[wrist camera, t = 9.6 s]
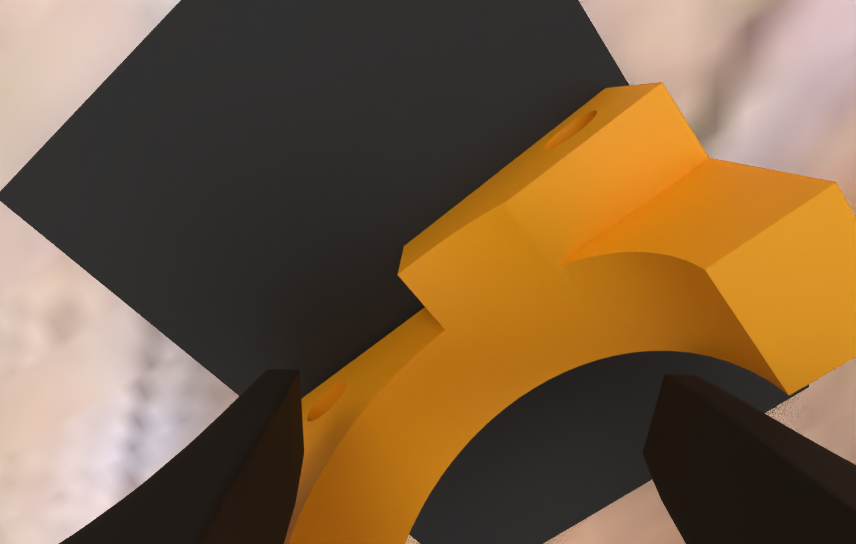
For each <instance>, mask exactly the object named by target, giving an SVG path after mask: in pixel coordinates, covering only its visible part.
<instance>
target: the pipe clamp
mask: <svg viewBox="0 0 856 544" xmlns="http://www.w3.org/2000/svg"><path fill="white" fill-rule="evenodd" d="M398 276H399V277H400V278H401V279H402V281H403V282H404V283H405V284H406V285H407V286H408V288H409V289H410V290H411V291H412V292H413V293H414V294H415V296H416V297H417V298H418V299H419V300H420V301H421V302H422V304H423V305H424V306H425V307H424V308H423V309H422V310H420V311H419V312H418V313H416V314H415V315H414V316H412V317H411V318H410V319H408V320H407V321H406V322H404V323H403V324H402V325H400V326H399V327H398V328H396V329H395V330H394V331H392V332H391V333H389V334H388V335H387V336H385V337H384V338H383V339H381V340H380V341H379V342H377V343H376V344H375V345H373V346H372V347H371V348H369V349H368V350H367V351H365V352H364V353H363V354H361V355H360V356H358V357H357V358H356V359H354V360H353V361H352V362H350V363H349V364H348V365H346V366H345V367H344V368H342V369H341V370H340V371H338V372H337V373H336V374H334V375H333V376H332V377H330V378H329V379H328V380H326V381H325V382H323V383H322V384H321V385H319V386H318V387H317V388H315V389H314V390H313V391H311V392H310V393H309V394H307V395H306V396H305V397H303V398H302V399H301V402H302V420H303V438H304V457H303V463H302V469H301V475H300V481H299V487H298V492H297V498H296V503H295V507H294V510H293V514H292V517H291V521H290V524H289V528H288V531H287V535H286V538H285V541H284V544H405V543H406V540H407V538H408V536H409V533H410V531H411V529H412V526H413V524H414V522H415V520H416V518H417V516H418V514H419V512H420V510H421V508H422V507H423V505H424V503H425V501H426V500H427V498H428V496H429V495H430V493H431V491H432V490H433V488H434V487H435V485H436V484H437V482H438V480H439V479H440V477H441V476H442V475H443V473H444V472H445V471H446V469H447V468H448V466H449V465H450V464H451V462H452V461H453V460H454V459H455V457H456V456H457V455H458V454H459V453H460V451H461V450H462V449H463V448H464V447H465V446H466V445H467V443H468V442H469V441H470V440H471V439H472V438H473V437H474V436H475V435H476V434H477V433H478V432H479V431H480V430H481V429H482V428H483V427H484V426H485V425H486V424H487V423H488V422H489V421H491V420H492V419H493V418H494V417H495V416H496V415H498V414H499V413H500V412H501V411H502V410H504V409H505V408H506V407H508V406H509V405H510V404H512V403H513V402H514V401H516V400H517V399H518V398H520V397H521V396H523V395H524V394H526V393H527V392H529V391H530V390H532V389H533V388H535V387H537V386H539V385H540V384H542V383H544V382H546V381H547V380H549V379H551V378H553V377H555V376H558V375H560V374H562V373H564V372H566V371H568V370H571V369H573V368H576V367H578V366H581V365H584V364H587V363H590V362H593V361H596V360H599V359H603V358H607V357H611V356H616V355H621V354H627V353H633V352H644V351H678V352H690V353H695V354H701V355H706V356H711V357H714V358H717V359H721V360H724V361H728V362H731V363H733V364H735V365H738V366H740V367H743V368H745V369H748V370H750V371H752V372H753V373H755V374H757V375H759V376H761V377H762V378H764V379H766V380H768V381H770V382H771V383H772V384H774V385H775V386H776V387H778V388H779V389H781V390H782V391H783V392H785V393H786V394H788V395H791V394H793V393H794V392H796V391H798V390H799V389H801V388H803V387H805V386H806V385H808V384H810V383H812V382H813V381H815V380H817V379H818V378H820V377H822V376H824V375H825V374H827V373H829V372H830V371H832V370H834V369H836V368H837V367H839V366H841V365H842V364H844V363H846V362H848V361H849V360H851V359H853V358H855V357H856V217H855V215H854V213H853V211H852V210H851V208H850V206H849V204H848V202H847V201H846V199H845V197H844V195H843V193H842V192H841V190H840V188H839V186H838V184H837V183H836V182H832V181H827V180H822V179H817V178H811V177H806V176H801V175H796V174H791V173H785V172H780V171H775V170H770V169H765V168H759V167H754V166H749V165H744V164H739V163H733V162H728V161H723V160H718V159H713V158H709V157H708V155H707V154H706V152H705V150H704V149H703V147H702V146H701V144H700V142H699V141H698V139H697V137H696V136H695V134H694V133H693V131H692V129H691V128H690V126H689V125H688V123H687V121H686V120H685V118H684V117H683V115H682V113H681V112H680V110H679V108H678V107H677V105H676V104H675V102H674V100H673V99H672V97H671V96H670V94H669V92H668V91H667V89H666V88H665V86H664V84H663V83H662V82H660V83H650V84H640V85H630V86H620V87H610V88H605V89H604V90H602V91H601V92H600V93H599V94H597V95H596V96H595V97H594V98H592V99H591V100H590V101H588V102H587V103H586V104H585V105H583V106H582V107H581V108H580V109H578V110H577V111H576V112H574V113H573V114H572V115H571V116H569V117H568V118H567V119H566V120H564V121H563V122H562V123H560V124H559V125H558V126H557V127H555V128H554V129H553V130H551V131H550V132H549V133H548V134H546V135H545V136H544V137H543V138H541V139H540V140H539V141H537V142H536V143H535V144H534V145H532V146H531V147H530V148H529V149H527V150H526V151H525V152H523V153H522V154H521V155H520V156H518V157H517V158H516V159H515V160H513V161H512V162H511V163H509V164H508V165H507V166H506V167H504V168H503V169H502V170H500V171H499V172H498V173H497V174H495V175H494V176H493V177H492V178H490V179H489V180H488V181H486V182H485V183H484V184H483V185H481V186H480V187H479V188H478V189H476V190H475V191H474V192H472V193H471V194H470V195H469V196H467V197H466V198H465V199H463V200H462V201H461V202H460V203H458V204H457V205H456V206H455V207H453V208H452V209H451V210H449V211H448V212H447V213H446V214H444V215H443V216H442V217H441V218H439V219H438V220H437V221H435V222H434V223H433V224H432V225H430V226H429V227H428V228H427V229H425V230H424V231H423V232H421V233H420V234H419V235H418V236H416V237H415V238H414V239H412V240H411V241H410V242H409V243H407V244H406V245H405V246H404V248H403V252H402V257H401V261H400V266H399V270H398Z"/></svg>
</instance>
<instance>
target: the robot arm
mask: <svg viewBox="0 0 856 544" xmlns="http://www.w3.org/2000/svg"><path fill="white" fill-rule="evenodd" d="M642 454H643V456H644V459H645V461H646V464H647V467H648V469H649V472H650V474H651V477H652V479H653V481H654V484H655V486H656V488H657V491H658V493H659V495H660V497H661V500H662V502H663V504H664V505H665V507H666V509H667V511H668V513H669V514H670V516H671V518H672V520H673V521H674V523H675V525H676V527H677V528H678V530H679V532H680V534H681V535H682V537H683V539H684V541H685V542H686V544H856V465H855V464H853V463H851V462H849V461H847V460H845V459H844V458H842V457H840V456H838V455H836V454H834V453H833V452H831V451H829V450H827V449H825V448H824V447H822V446H820V445H818V444H816V443H815V442H813V441H811V440H809V439H808V438H806V437H804V436H802V435H801V434H799V433H797V432H795V431H794V430H792V429H790V428H788V427H787V426H785V425H783V424H782V423H780V422H778V421H776V420H775V419H773V418H771V417H769V416H768V415H766V414H764V413H763V412H761V411H759V410H757V409H756V408H754V407H752V406H751V405H749V404H747V403H745V402H744V401H742V400H740V399H738V398H737V397H735V396H733V395H731V394H730V393H728V392H726V391H724V390H722V389H721V388H719V387H717V386H715V385H713V384H711V383H709V382H707V381H705V380H703V379H701V378H699V377H697V376H695V375H664V378H663V382H662V385H661V389H660V392H659V396H658V400H657V403H656V407H655V410H654V414H653V417H652V421H651V424H650V428H649V432H648V435H647V439H646V442H645V446H644V449H643V453H642ZM303 457H304V438H303V420H302V402H301V384H300V369H267V370H266V371H265V372H264V373H263V374H262V375H261V376H260V377H258V378H257V379H256V380H255V381H254V382H253V383H252V384H251V385H250V386H249V387H248V388H247V389H246V390H245V391H244V392H243V393H242V394H241V395H240V396H239V397H238V398H237V399H236V400H235V401H234V402H233V403H232V404H231V405H230V406H229V407H228V408H227V409H226V410H225V411H224V412H223V413H222V414H221V415H220V416H219V417H218V418H217V419H216V420H215V421H214V422H212V423H211V424H210V425H209V426H208V427H207V428H206V429H205V430H204V431H203V432H202V433H201V434H200V435H199V436H198V437H196V438H195V439H194V440H193V441H192V442H191V443H190V444H189V445H188V446H187V447H185V448H184V449H183V450H182V451H181V452H180V453H178V454H177V455H176V456H175V457H174V458H173V459H171V460H170V461H169V462H168V463H167V464H165V465H164V466H163V467H162V468H161V469H160V470H158V471H157V472H156V473H155V474H154V475H153V476H151V477H150V478H149V479H148V480H147V481H145V482H144V483H143V484H142V485H140V486H139V487H138V488H137V489H135V490H134V491H133V492H131V493H130V494H129V495H127V496H126V497H125V498H124V499H122V500H121V501H119V502H118V503H117V504H115V505H114V506H113V507H111V508H110V509H108V510H107V511H106V512H104V513H103V514H102V515H100V516H99V517H97V518H96V519H95V520H93V521H92V522H91V523H89V524H88V525H86V526H85V527H83V528H82V529H80V530H79V531H78V532H76V533H75V534H73V535H72V536H70V537H69V538H67V539H65V540H64V541H62V542H61V543H59V544H284V541H285V538H286V535H287V531H288V528H289V524H290V521H291V517H292V514H293V510H294V507H295V503H296V498H297V492H298V487H299V481H300V475H301V469H302V463H303Z"/></svg>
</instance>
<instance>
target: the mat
mask: <svg viewBox="0 0 856 544" xmlns="http://www.w3.org/2000/svg"><path fill="white" fill-rule="evenodd" d="M620 86H629V84H628V82H627V81H626V79H625V77H624V76H623V74H622V72H621V71H620V69H619V67H618V66H617V64H616V62H615V61H614V59H613V57H612V56H611V54H610V52H609V51H608V49H607V47H606V46H605V44H604V42H603V41H602V39H601V37H600V36H599V34H598V32H597V31H596V29H595V27H594V26H593V24H592V22H591V21H590V19H589V17H588V16H587V14H586V12H585V11H584V9H583V7H582V6H581V4H580V2H579V1H578V0H181V1H180V2H179V3H178V4H177V5H176V6H175V7H174V8H173V9H172V10H171V11H170V12H169V13H168V14H167V16H166V17H165V18H164V19H163V20H162V21H161V22H160V23H159V24H158V25H157V26H156V27H155V28H154V29H153V30H152V31H151V32H150V34H149V35H148V36H147V37H146V38H145V39H144V40H143V41H142V42H141V43H140V44H139V45H138V46H137V47H136V48H135V49H134V50H133V52H132V53H131V54H130V55H129V56H128V57H127V58H126V59H125V60H124V61H123V62H122V63H121V64H120V65H119V66H118V67H117V68H116V70H115V71H114V72H113V73H112V74H111V75H110V76H109V77H108V78H107V79H106V80H105V81H104V82H103V83H102V84H101V85H100V86H99V88H98V89H97V90H96V91H95V92H94V93H93V94H92V95H91V96H90V97H89V98H88V99H87V100H86V101H85V102H84V103H83V104H82V106H81V107H80V108H79V109H78V110H77V111H76V112H75V113H74V114H73V115H72V116H71V117H70V118H69V119H68V120H67V121H66V122H65V123H64V125H63V126H62V127H61V128H60V129H59V130H58V131H57V132H56V133H55V134H54V135H53V136H52V137H51V138H50V139H49V140H48V141H47V143H46V144H45V145H44V146H43V147H42V148H41V149H40V150H39V151H38V152H37V153H36V154H35V155H34V156H33V157H32V158H31V159H30V161H29V162H28V163H27V164H26V165H25V166H24V167H23V168H22V169H21V170H20V171H19V172H18V173H17V174H16V175H15V176H14V177H13V179H12V180H11V181H10V182H9V183H8V184H7V185H6V186H5V187H4V188H3V189H2V190H1V191H0V201H1V202H2V203H4V204H5V205H6V206H7V207H8V208H10V209H11V210H12V211H13V212H15V213H16V214H17V215H18V216H20V217H21V218H22V219H23V220H24V221H26V222H27V223H28V224H29V225H31V226H32V227H33V228H34V229H35V230H37V231H38V232H39V233H40V234H42V235H43V236H44V237H45V238H46V239H48V240H49V241H50V242H51V243H53V244H54V245H55V246H56V247H58V248H59V249H60V250H61V251H62V252H64V253H65V254H66V255H67V256H69V257H70V258H71V259H72V260H73V261H75V262H76V263H77V264H78V265H80V266H81V267H82V268H83V269H85V270H86V271H87V272H88V273H89V274H91V275H92V276H93V277H94V278H96V279H97V280H98V281H99V282H100V283H102V284H103V285H104V286H105V287H107V288H108V289H109V290H110V291H111V292H113V293H114V294H115V295H116V296H118V297H119V298H120V299H121V300H123V301H124V302H125V303H126V304H127V305H129V306H130V307H131V308H132V309H134V310H135V311H136V312H137V313H138V314H140V315H141V316H142V317H143V318H145V319H146V320H147V321H148V322H150V323H151V324H152V325H153V326H154V327H156V328H157V329H158V330H159V331H161V332H162V333H163V334H164V335H165V336H167V337H168V338H169V339H170V340H172V341H173V342H174V343H175V344H176V345H178V346H179V347H180V348H181V349H183V350H184V351H185V352H186V353H188V354H189V355H190V356H191V357H192V358H194V359H195V360H196V361H197V362H199V363H200V364H201V365H202V366H203V367H205V368H206V369H207V370H208V371H210V372H211V373H212V374H213V375H215V376H216V377H217V378H218V379H219V380H221V381H222V382H223V383H224V384H226V385H227V386H228V387H229V388H230V389H232V390H233V391H234V392H235V393H237V394H238V395H239V396H240V395H241V394H242V393H243V392H244V391H245V390H246V389H247V388H248V387H249V386H250V385H251V384H252V383H253V382H254V381H255V380H256V379H257V378H258V377H260V376H261V375H262V374H263V373H264V372H265V371H266V370H267V369H300V384H301V399H302V398H303V397H305V396H306V395H307V394H309V393H310V392H311V391H313V390H314V389H315V388H317V387H318V386H319V385H321V384H322V383H323V382H325V381H326V380H328V379H329V378H330V377H332V376H333V375H334V374H336V373H337V372H338V371H340V370H341V369H342V368H344V367H345V366H346V365H348V364H349V363H350V362H352V361H353V360H354V359H356V358H357V357H358V356H360V355H361V354H363V353H364V352H365V351H367V350H368V349H369V348H371V347H372V346H373V345H375V344H376V343H377V342H379V341H380V340H381V339H383V338H384V337H385V336H387V335H388V334H389V333H391V332H392V331H394V330H395V329H396V328H398V327H399V326H400V325H402V324H403V323H404V322H406V321H407V320H408V319H410V318H411V317H412V316H414V315H415V314H416V313H418V312H419V311H420V310H422V309H423V308H424V307H425V306H424V305H423V304H422V302H421V301H420V300H419V299H418V298H417V297H416V296H415V294H414V293H413V292H412V291H411V290H410V289H409V288H408V286H407V285H406V284H405V283H404V282H403V281H402V279H401V278H400V277H399V276H398V270H399V266H400V261H401V257H402V252H403V248H404V246H405V245H406V244H407V243H409V242H410V241H411V240H412V239H414V238H415V237H416V236H418V235H419V234H420V233H421V232H423V231H424V230H425V229H427V228H428V227H429V226H430V225H432V224H433V223H434V222H435V221H437V220H438V219H439V218H441V217H442V216H443V215H444V214H446V213H447V212H448V211H449V210H451V209H452V208H453V207H455V206H456V205H457V204H458V203H460V202H461V201H462V200H463V199H465V198H466V197H467V196H469V195H470V194H471V193H472V192H474V191H475V190H476V189H478V188H479V187H480V186H481V185H483V184H484V183H485V182H486V181H488V180H489V179H490V178H492V177H493V176H494V175H495V174H497V173H498V172H499V171H500V170H502V169H503V168H504V167H506V166H507V165H508V164H509V163H511V162H512V161H513V160H515V159H516V158H517V157H518V156H520V155H521V154H522V153H523V152H525V151H526V150H527V149H529V148H530V147H531V146H532V145H534V144H535V143H536V142H537V141H539V140H540V139H541V138H543V137H544V136H545V135H546V134H548V133H549V132H550V131H551V130H553V129H554V128H555V127H557V126H558V125H559V124H560V123H562V122H563V121H564V120H566V119H567V118H568V117H569V116H571V115H572V114H573V113H574V112H576V111H577V110H578V109H580V108H581V107H582V106H583V105H585V104H586V103H587V102H588V101H590V100H591V99H592V98H594V97H595V96H596V95H597V94H599V93H600V92H601V91H602V90H604V89H605V88H610V87H620ZM664 375H695V376H697V377H699V378H701V379H703V380H705V381H707V382H709V383H711V384H713V385H715V386H717V387H719V388H721V389H722V390H724V391H726V392H728V393H730V394H731V395H733V396H735V397H737V398H738V399H740V400H742V401H744V402H745V403H747V404H749V405H751V406H752V407H754V408H756V409H757V410H759V411H761V412H763V413H766V412H767V411H769V410H771V409H772V408H774V407H776V406H777V405H779V404H781V403H782V402H784V401H786V400H788V399H789V398H791V397H793V396H794V395H796V394H798V393H799V392H801V391H803V390H805V389H806V388H808V387H809V384H808V385H806V386H805V387H803V388H801V389H799V390H798V391H796V392H794V393H793V394H791V395H788V394H786V393H785V392H783V391H782V390H781V389H779V388H778V387H776V386H775V385H774V384H772V383H771V382H770V381H768V380H766V379H764V378H762V377H761V376H759V375H757V374H755V373H753V372H752V371H750V370H748V369H745V368H743V367H740V366H738V365H735V364H733V363H731V362H728V361H724V360H721V359H717V358H714V357H711V356H706V355H701V354H695V353H690V352H678V351H644V352H633V353H627V354H621V355H616V356H611V357H607V358H603V359H599V360H596V361H593V362H590V363H587V364H584V365H581V366H578V367H576V368H573V369H571V370H568V371H566V372H564V373H562V374H560V375H558V376H555V377H553V378H551V379H549V380H547V381H546V382H544V383H542V384H540V385H539V386H537V387H535V388H533V389H532V390H530V391H529V392H527V393H526V394H524V395H523V396H521V397H520V398H518V399H517V400H516V401H514V402H513V403H512V404H510V405H509V406H508V407H506V408H505V409H504V410H502V411H501V412H500V413H499V414H498V415H496V416H495V417H494V418H493V419H492V420H491V421H489V422H488V423H487V424H486V425H485V426H484V427H483V428H482V429H481V430H480V431H479V432H478V433H477V434H476V435H475V436H474V437H473V438H472V439H471V440H470V441H469V442H468V443H467V445H466V446H465V447H464V448H463V449H462V450H461V451H460V453H459V454H458V455H457V456H456V457H455V459H454V460H453V461H452V462H451V464H450V465H449V466H448V468H447V469H446V471H445V472H444V473H443V475H442V476H441V477H440V479H439V480H438V482H437V484H436V485H435V487H434V488H433V490H432V491H431V493H430V495H429V496H428V498H427V500H426V501H425V503H424V505H423V507H422V508H421V510H420V512H419V514H418V516H417V518H416V520H415V522H414V524H413V526H412V529H411V531H410V533H409V534H410V535H411V536H412V537H413V538H414V539H416V540H417V541H418V542H419V543H421V544H543V543H545V542H546V541H548V540H550V539H551V538H553V537H555V536H557V535H558V534H560V533H562V532H563V531H565V530H567V529H568V528H570V527H572V526H574V525H575V524H577V523H579V522H580V521H582V520H584V519H585V518H587V517H589V516H591V515H592V514H594V513H596V512H597V511H599V510H601V509H602V508H604V507H606V506H608V505H609V504H611V503H613V502H614V501H616V500H618V499H619V498H621V497H623V496H624V495H626V494H628V493H630V492H631V491H633V490H635V489H636V488H638V487H640V486H641V485H643V484H645V483H647V482H648V481H650V480H652V477H651V474H650V472H649V469H648V467H647V464H646V461H645V459H644V456H643V454H642V453H643V449H644V446H645V442H646V439H647V435H648V432H649V428H650V424H651V421H652V417H653V414H654V410H655V407H656V403H657V400H658V396H659V392H660V389H661V385H662V382H663V378H664Z"/></svg>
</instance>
